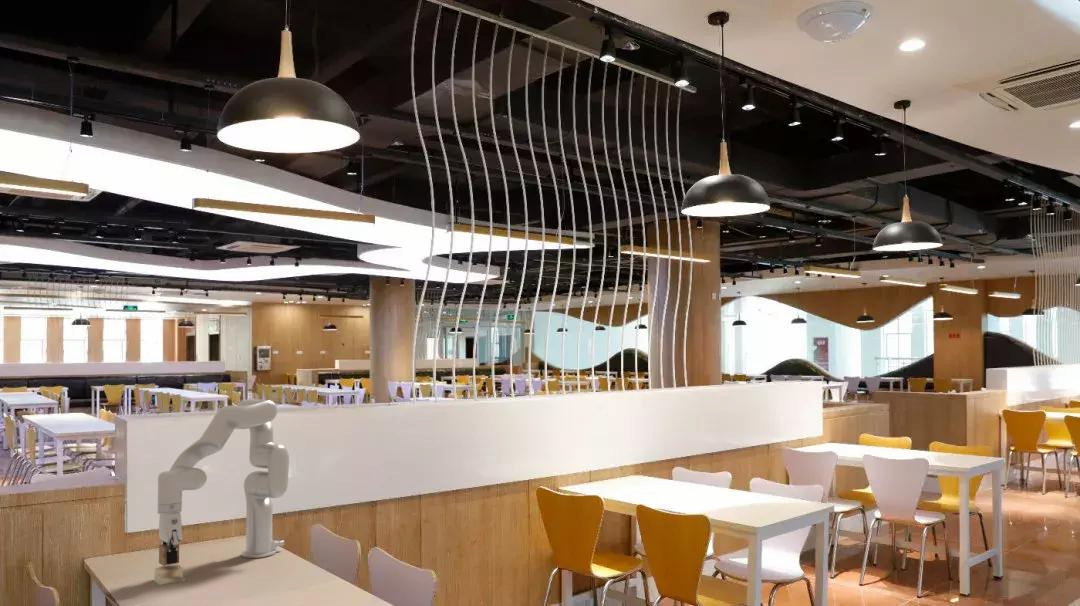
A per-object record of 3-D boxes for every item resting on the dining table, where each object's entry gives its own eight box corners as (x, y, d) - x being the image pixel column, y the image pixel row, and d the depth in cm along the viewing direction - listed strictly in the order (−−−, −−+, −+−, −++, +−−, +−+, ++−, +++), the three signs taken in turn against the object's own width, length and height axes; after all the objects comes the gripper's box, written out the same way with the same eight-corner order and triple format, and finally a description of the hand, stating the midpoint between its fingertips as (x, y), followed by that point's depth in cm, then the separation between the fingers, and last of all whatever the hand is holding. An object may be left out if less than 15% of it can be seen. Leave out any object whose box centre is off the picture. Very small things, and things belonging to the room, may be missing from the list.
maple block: (176, 575, 271) (176, 563, 271) (182, 579, 265) (183, 567, 266) (154, 579, 266) (154, 567, 266) (161, 583, 261) (161, 571, 261)
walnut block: (174, 559, 269) (174, 542, 270) (179, 562, 266) (179, 545, 266) (158, 562, 266) (159, 545, 266) (163, 565, 262) (163, 547, 263)
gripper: (189, 509, 263) (189, 564, 262) (173, 502, 276) (172, 554, 275) (166, 513, 258) (165, 568, 257) (150, 505, 271) (149, 558, 270)
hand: (169, 560), depth 266 cm, fingers closed on walnut block, 4 cm apart
